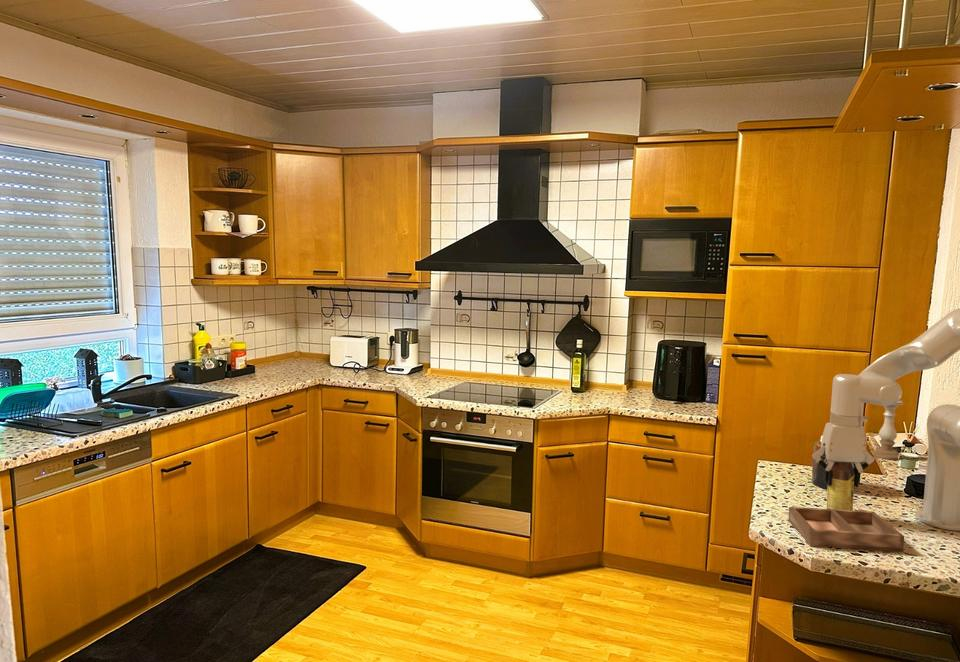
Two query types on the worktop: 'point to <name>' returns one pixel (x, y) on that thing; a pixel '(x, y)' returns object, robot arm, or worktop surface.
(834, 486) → the sauce bottle
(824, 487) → the jar
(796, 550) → the worktop surface
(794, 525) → the caddy
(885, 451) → the candle holder
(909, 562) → the worktop surface
